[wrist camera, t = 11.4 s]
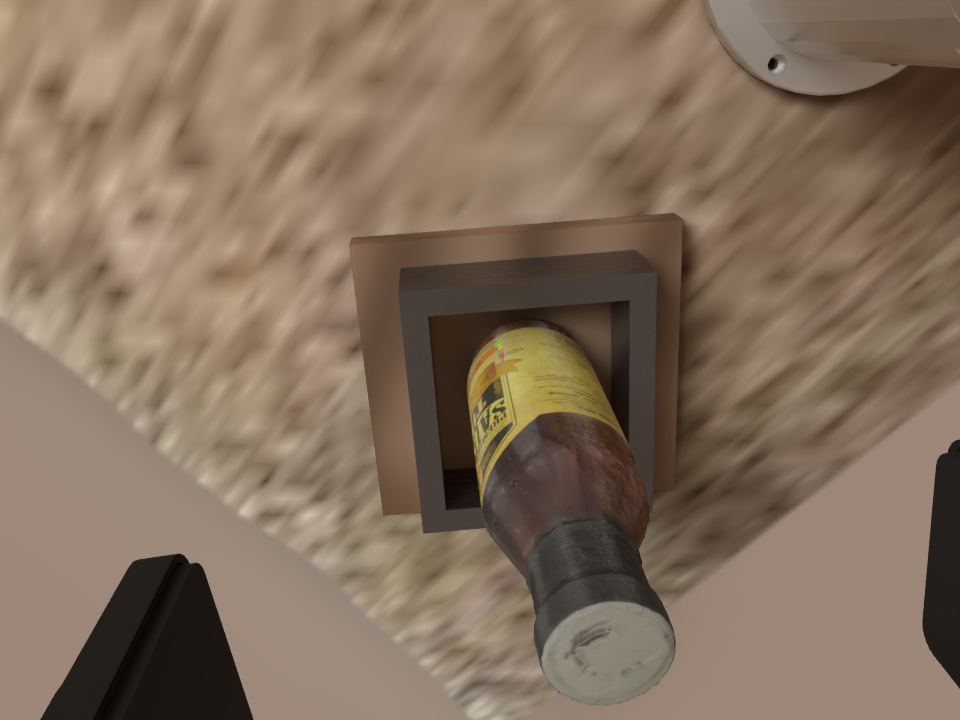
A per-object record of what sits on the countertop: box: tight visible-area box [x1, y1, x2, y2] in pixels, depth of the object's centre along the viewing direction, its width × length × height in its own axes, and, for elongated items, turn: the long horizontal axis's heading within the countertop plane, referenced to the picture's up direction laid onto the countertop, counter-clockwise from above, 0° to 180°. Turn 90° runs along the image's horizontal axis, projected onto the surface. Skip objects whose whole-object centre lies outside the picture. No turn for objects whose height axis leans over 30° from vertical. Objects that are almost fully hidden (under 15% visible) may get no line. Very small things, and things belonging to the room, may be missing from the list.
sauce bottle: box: [467, 319, 675, 706], centre depth 32 cm, size 7×6×20 cm
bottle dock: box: [349, 213, 683, 533], centre depth 41 cm, size 16×15×6 cm
